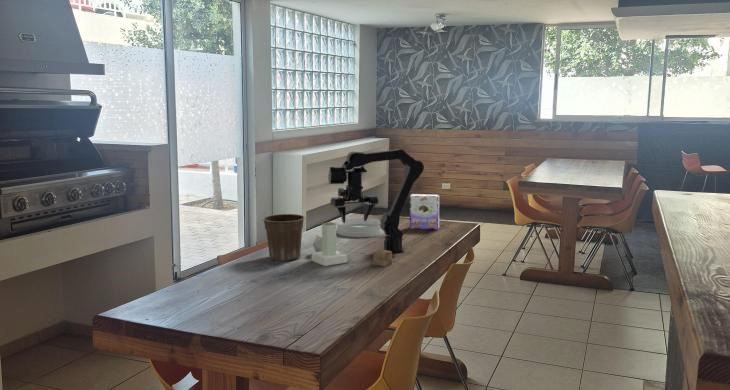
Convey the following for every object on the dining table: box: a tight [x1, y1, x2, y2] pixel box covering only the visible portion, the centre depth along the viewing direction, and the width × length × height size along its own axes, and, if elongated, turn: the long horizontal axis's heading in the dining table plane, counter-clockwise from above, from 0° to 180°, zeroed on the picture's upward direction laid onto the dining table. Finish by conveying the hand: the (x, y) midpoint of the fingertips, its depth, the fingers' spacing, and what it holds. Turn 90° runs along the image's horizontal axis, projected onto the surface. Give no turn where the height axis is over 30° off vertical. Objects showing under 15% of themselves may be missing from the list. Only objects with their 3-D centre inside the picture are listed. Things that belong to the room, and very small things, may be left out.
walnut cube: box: [372, 249, 393, 267], centre depth 246 cm, size 5×5×5 cm
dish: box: [336, 217, 385, 238], centre depth 305 cm, size 22×22×5 cm
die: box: [312, 234, 322, 253], centre depth 262 cm, size 8×9×10 cm
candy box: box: [409, 193, 440, 231], centre depth 313 cm, size 14×6×16 cm, turn 77°
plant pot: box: [262, 213, 305, 262], centre depth 256 cm, size 16×16×16 cm
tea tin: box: [321, 221, 337, 256], centre depth 249 cm, size 4×4×12 cm
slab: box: [311, 250, 348, 267], centre depth 250 cm, size 10×10×3 cm
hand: (354, 221), depth 261 cm, fingers open, 9 cm apart
